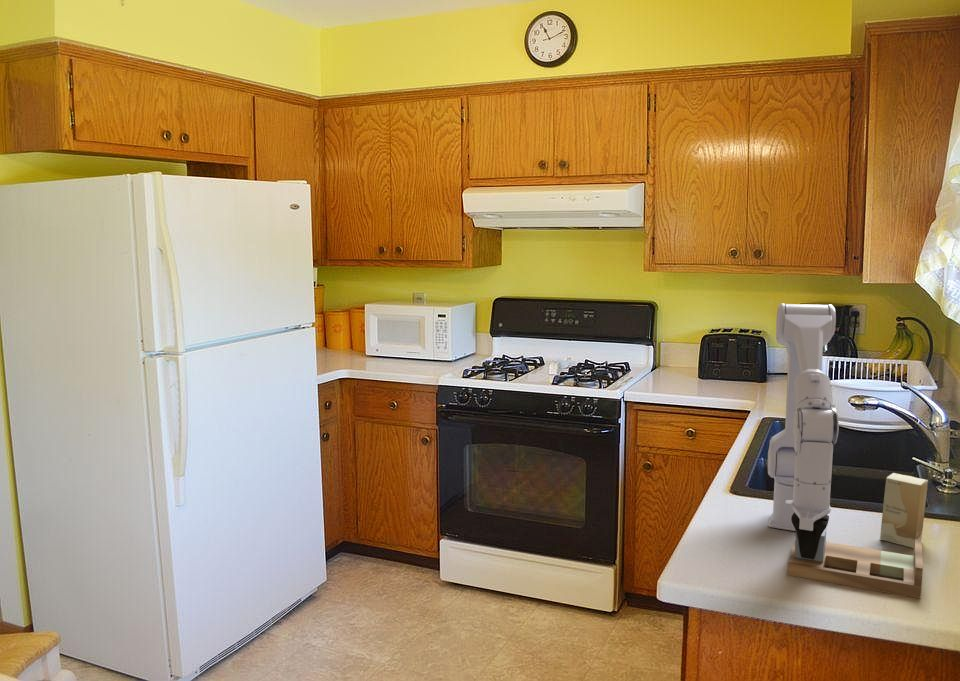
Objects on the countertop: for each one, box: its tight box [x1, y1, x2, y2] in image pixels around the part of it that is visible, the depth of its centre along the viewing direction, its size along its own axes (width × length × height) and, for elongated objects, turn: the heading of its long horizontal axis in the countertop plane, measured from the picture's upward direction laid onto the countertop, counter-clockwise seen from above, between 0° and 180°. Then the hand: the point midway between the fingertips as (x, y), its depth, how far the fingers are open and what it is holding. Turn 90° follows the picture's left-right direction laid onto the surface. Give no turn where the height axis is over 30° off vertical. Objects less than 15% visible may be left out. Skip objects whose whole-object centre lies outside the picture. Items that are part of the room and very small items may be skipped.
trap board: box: [786, 539, 924, 599], centre depth 142 cm, size 13×20×5 cm, turn 63°
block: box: [794, 527, 827, 562], centre depth 144 cm, size 4×4×4 cm
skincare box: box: [879, 472, 929, 549], centre depth 154 cm, size 6×4×12 cm
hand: (807, 557), depth 141 cm, fingers closed
